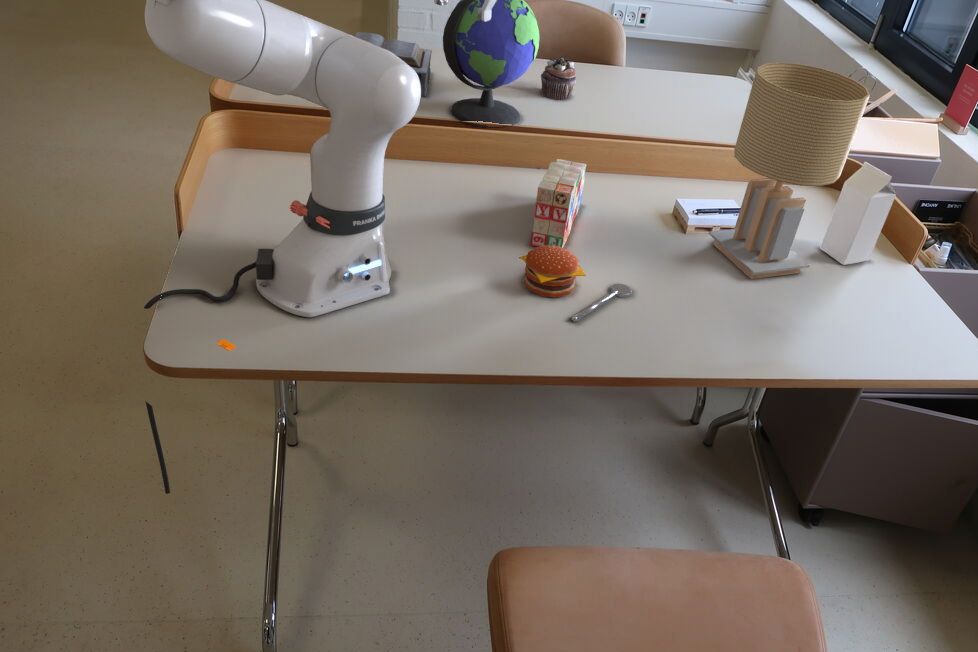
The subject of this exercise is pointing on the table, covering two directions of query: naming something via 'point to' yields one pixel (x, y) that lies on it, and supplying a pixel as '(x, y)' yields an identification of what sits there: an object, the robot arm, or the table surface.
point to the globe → (489, 55)
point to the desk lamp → (788, 159)
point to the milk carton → (859, 215)
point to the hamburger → (551, 271)
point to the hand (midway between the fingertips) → (462, 12)
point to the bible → (405, 55)
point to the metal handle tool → (605, 300)
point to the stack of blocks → (557, 203)
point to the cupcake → (558, 79)
